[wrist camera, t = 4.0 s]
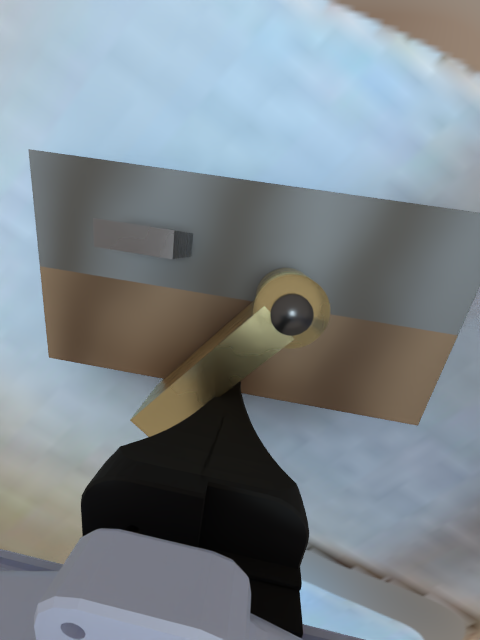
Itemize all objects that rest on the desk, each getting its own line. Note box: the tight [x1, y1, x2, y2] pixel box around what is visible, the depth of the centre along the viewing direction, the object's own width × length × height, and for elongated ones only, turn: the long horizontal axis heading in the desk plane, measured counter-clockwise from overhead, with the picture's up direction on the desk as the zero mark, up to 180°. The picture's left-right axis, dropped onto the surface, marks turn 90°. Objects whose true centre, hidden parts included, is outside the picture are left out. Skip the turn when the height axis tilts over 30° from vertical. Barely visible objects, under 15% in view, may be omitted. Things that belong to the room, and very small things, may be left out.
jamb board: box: [29, 149, 480, 425], centre depth 12 cm, size 20×10×1 cm, turn 81°
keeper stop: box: [93, 218, 193, 259], centre depth 10 cm, size 3×1×2 cm, turn 81°
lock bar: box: [130, 268, 330, 437], centre depth 10 cm, size 9×3×3 cm, turn 133°
